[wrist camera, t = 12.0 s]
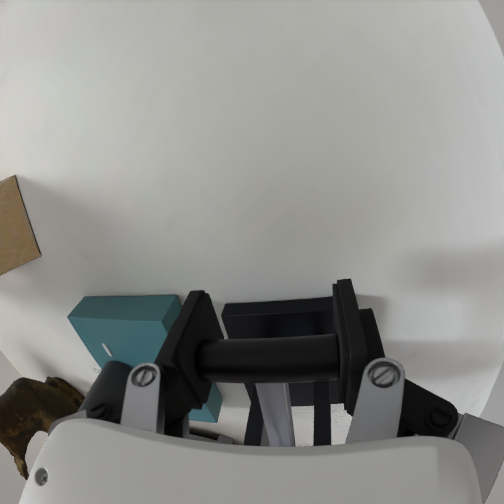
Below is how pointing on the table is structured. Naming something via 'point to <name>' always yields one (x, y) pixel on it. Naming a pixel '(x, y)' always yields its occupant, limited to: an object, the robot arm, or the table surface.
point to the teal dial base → (133, 335)
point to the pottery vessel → (33, 412)
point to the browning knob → (107, 382)
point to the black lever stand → (278, 326)
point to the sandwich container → (14, 229)
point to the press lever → (271, 372)
